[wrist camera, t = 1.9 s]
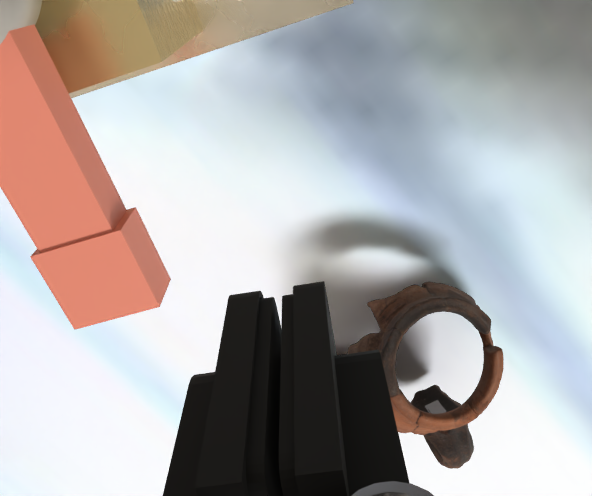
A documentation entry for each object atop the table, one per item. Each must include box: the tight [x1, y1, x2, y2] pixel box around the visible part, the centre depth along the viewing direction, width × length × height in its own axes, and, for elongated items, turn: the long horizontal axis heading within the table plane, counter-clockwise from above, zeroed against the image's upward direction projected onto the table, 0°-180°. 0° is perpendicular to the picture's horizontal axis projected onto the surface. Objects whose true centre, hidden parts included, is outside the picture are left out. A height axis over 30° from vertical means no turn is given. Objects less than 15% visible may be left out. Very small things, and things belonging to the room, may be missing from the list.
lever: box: [0, 0, 171, 329], centre depth 17 cm, size 13×4×2 cm, turn 18°
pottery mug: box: [348, 282, 503, 468], centre depth 34 cm, size 12×10×8 cm
